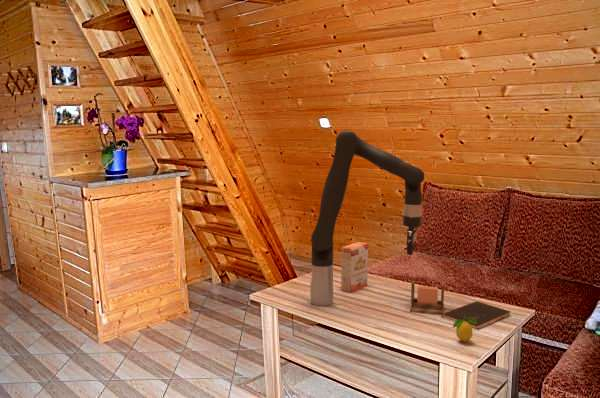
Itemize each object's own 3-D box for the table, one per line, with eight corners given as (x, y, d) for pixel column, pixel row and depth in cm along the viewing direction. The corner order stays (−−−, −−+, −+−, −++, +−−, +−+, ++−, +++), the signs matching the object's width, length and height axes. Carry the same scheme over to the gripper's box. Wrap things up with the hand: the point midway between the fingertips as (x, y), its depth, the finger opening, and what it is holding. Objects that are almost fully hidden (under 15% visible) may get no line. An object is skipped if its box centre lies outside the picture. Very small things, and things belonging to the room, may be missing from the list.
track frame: (410, 312, 208) (410, 286, 207) (412, 302, 220) (412, 277, 218) (443, 315, 205) (443, 288, 203) (443, 304, 216) (444, 279, 214)
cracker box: (351, 293, 232) (351, 248, 229) (340, 290, 236) (340, 246, 233) (368, 285, 243) (368, 242, 240) (357, 283, 247) (358, 241, 244)
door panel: (417, 306, 212) (417, 288, 210) (417, 304, 214) (418, 285, 213) (437, 308, 209) (437, 289, 208) (437, 305, 212) (437, 287, 211)
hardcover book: (510, 316, 203) (510, 311, 203) (476, 331, 190) (476, 325, 189) (475, 305, 216) (475, 300, 216) (441, 318, 202) (441, 313, 202)
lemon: (476, 341, 180) (477, 314, 178) (470, 346, 175) (471, 319, 174) (458, 336, 184) (458, 310, 183) (451, 342, 179) (452, 314, 178)
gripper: (405, 211, 221) (403, 247, 223) (401, 216, 207) (399, 255, 210) (422, 212, 219) (420, 249, 221) (420, 218, 205) (418, 257, 208)
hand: (410, 252), depth 215 cm, fingers open, 8 cm apart
